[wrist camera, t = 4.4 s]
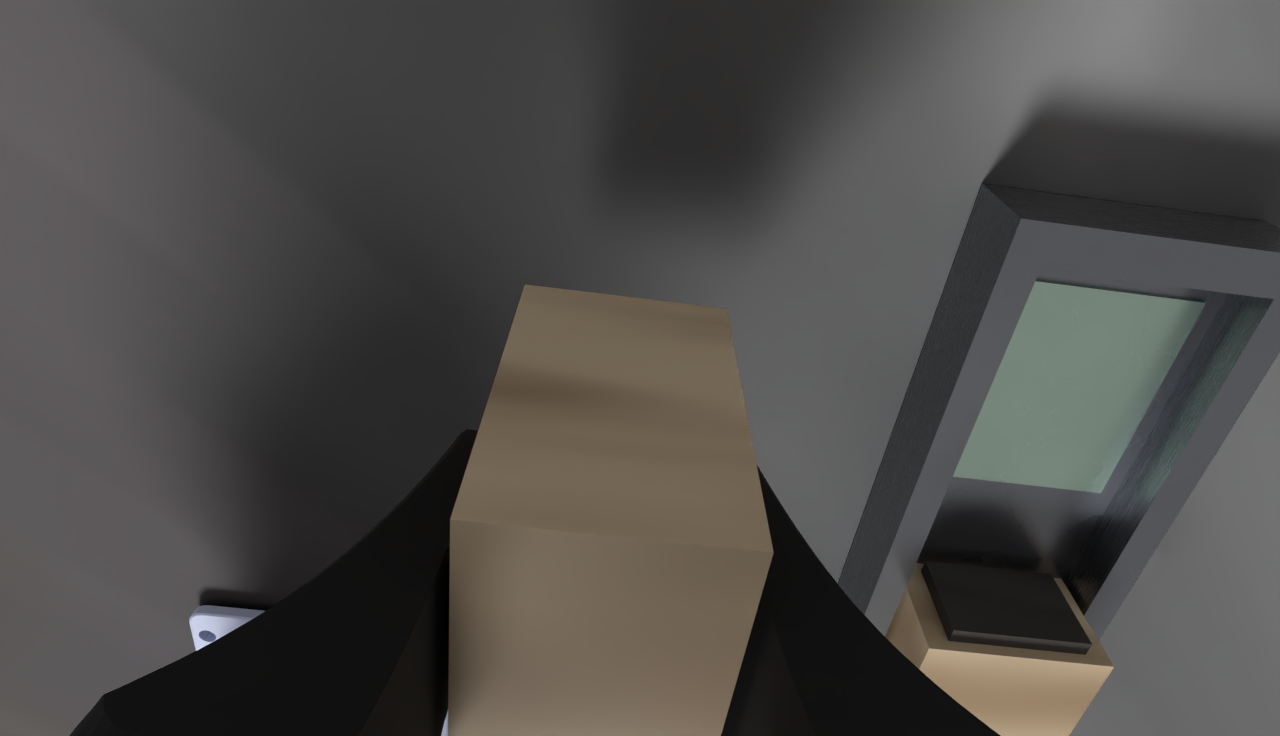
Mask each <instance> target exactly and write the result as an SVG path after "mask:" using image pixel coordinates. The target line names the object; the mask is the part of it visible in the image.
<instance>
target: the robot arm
mask: <svg viewBox="0 0 1280 736" xmlns="http://www.w3.org/2000/svg"><path fill="white" fill-rule="evenodd" d="M477 433H478V431H476V430H465V431H464V432H462V433H461V434H460V435H459V436H458V437H457V439H456V440H455V441H454V443H453V444H452V445H451V446H450V448H449V449H448V450H447V451H446V453H445V454H444V455H443V456H442V457H441V459H440V460H439V461H438V462H437V463H436V464H435V466H434V467H433V468H432V469H431V470H430V471H429V472H428V474H427V475H426V476H425V477H424V478H423V479H422V480H421V481H420V482H419V483H418V484H417V485H416V487H415V488H414V489H413V490H412V491H411V492H410V493H409V494H408V495H407V496H406V497H405V498H404V499H403V500H402V501H401V502H400V503H399V504H398V505H397V506H396V507H395V508H394V509H393V510H392V511H391V512H390V513H389V514H388V515H387V516H386V517H385V518H384V519H383V520H382V521H381V522H379V523H378V524H377V525H376V526H375V527H374V528H373V529H372V530H371V531H370V532H369V533H368V534H367V535H365V536H364V537H363V538H362V539H361V540H360V541H359V542H358V543H356V544H355V545H354V546H353V547H352V548H351V549H349V550H348V551H347V552H346V553H345V554H343V555H342V556H341V557H340V558H338V559H337V560H336V561H335V562H333V563H332V564H331V565H330V566H328V567H327V568H326V569H324V570H323V571H322V572H321V573H319V574H318V575H317V576H315V577H314V578H313V579H311V580H310V581H308V582H307V583H306V584H304V585H303V586H301V587H300V588H298V589H297V590H296V591H294V592H293V593H291V594H290V595H288V596H287V597H286V598H284V599H283V600H281V601H280V602H278V603H277V604H275V605H274V606H272V607H271V608H269V609H268V610H266V611H263V610H253V609H242V608H232V607H222V606H212V605H203V606H200V607H197V608H196V609H195V611H194V612H193V614H192V615H191V617H190V619H189V623H190V628H191V632H192V636H193V640H194V645H195V649H196V651H195V652H193V653H191V654H189V655H187V656H185V657H183V658H181V659H179V660H177V661H175V662H173V663H171V664H169V665H167V666H165V667H163V668H160V669H158V670H156V671H154V672H152V673H150V674H148V675H146V676H143V677H141V678H139V679H137V680H135V681H133V682H131V683H129V684H127V685H124V686H122V687H120V688H118V689H115V690H113V691H111V692H109V693H106V694H104V695H103V696H102V697H101V698H100V700H99V701H98V702H97V704H96V705H95V706H94V707H93V709H92V710H91V711H90V712H89V713H88V714H87V715H86V716H85V718H84V719H83V720H82V721H81V722H80V723H79V724H78V726H77V727H76V728H75V729H74V731H73V732H72V733H71V735H70V736H448V682H449V578H450V518H451V515H452V512H453V509H454V506H455V502H456V499H457V496H458V493H459V490H460V487H461V484H462V480H463V477H464V474H465V471H466V468H467V465H468V462H469V458H470V455H471V452H472V449H473V446H474V443H475V440H476V436H477ZM757 469H758V475H759V480H760V485H761V490H762V495H763V500H764V506H765V511H766V516H767V521H768V526H769V531H770V536H771V542H772V547H773V552H774V553H773V556H772V560H771V563H770V567H769V570H768V574H767V577H766V581H765V584H764V588H763V591H762V595H761V598H760V602H759V605H758V609H757V612H756V616H755V619H754V623H753V626H752V629H751V633H750V636H749V640H748V643H747V647H746V650H745V654H744V657H743V661H742V664H741V668H740V671H739V675H738V678H737V682H736V685H735V689H734V692H733V696H732V699H731V702H730V706H729V709H728V713H727V716H726V720H725V723H724V727H723V730H722V734H721V736H1000V735H999V734H998V733H996V732H995V731H994V730H992V729H991V728H990V727H988V726H987V725H986V724H985V723H983V722H982V721H981V720H980V719H978V718H977V717H976V716H974V715H973V714H972V713H971V712H969V711H968V710H967V709H965V708H964V707H963V706H962V705H960V704H959V703H958V702H957V701H955V700H954V699H953V698H952V697H951V696H949V695H948V694H947V693H946V692H945V691H943V690H942V689H941V688H940V687H939V686H937V685H936V684H935V683H934V682H933V681H932V680H931V679H929V678H928V677H927V676H926V675H925V674H924V673H923V672H922V671H921V670H920V669H918V668H917V667H916V666H915V665H914V664H913V663H912V662H911V661H910V660H909V659H907V658H906V657H905V656H904V655H903V654H902V653H901V652H900V651H899V650H898V649H897V648H896V647H895V646H894V645H893V644H892V643H891V642H890V641H889V640H888V639H887V638H886V637H885V636H884V635H883V634H882V633H881V632H880V631H879V630H878V629H877V628H876V627H875V626H874V625H873V624H872V623H871V622H870V620H869V619H868V618H867V617H866V616H865V615H864V614H863V613H862V612H861V611H860V610H859V609H858V608H857V607H856V605H855V604H854V603H853V602H852V601H851V600H850V598H849V597H848V596H847V595H846V594H845V592H844V591H843V590H842V589H841V587H840V586H839V585H838V584H837V582H836V581H835V580H834V579H833V577H832V576H831V575H830V574H829V572H828V571H827V570H826V568H825V567H824V566H823V564H822V563H821V562H820V560H819V559H818V558H817V556H816V555H815V554H814V552H813V551H812V549H811V548H810V547H809V545H808V544H807V542H806V541H805V539H804V538H803V537H802V535H801V534H800V532H799V531H798V529H797V528H796V526H795V525H794V523H793V522H792V520H791V519H790V517H789V516H788V514H787V513H786V511H785V510H784V508H783V507H782V505H781V503H780V502H779V500H778V499H777V497H776V495H775V494H774V492H773V491H772V489H771V487H770V486H769V484H768V482H767V481H766V479H765V477H764V476H763V474H762V472H761V471H760V469H759V468H758V466H757Z"/></svg>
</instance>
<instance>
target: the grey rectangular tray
mask: <svg viewBox="0 0 1280 736" xmlns="http://www.w3.org/2000/svg"><path fill="white" fill-rule="evenodd" d="M1279 352H1280V229H1278V228H1277V227H1275V226H1273V225H1271V224H1269V223H1267V222H1264V221H1256V220H1249V219H1241V218H1234V217H1226V216H1219V215H1211V214H1204V213H1196V212H1189V211H1182V210H1174V209H1167V208H1159V207H1152V206H1144V205H1137V204H1129V203H1122V202H1114V201H1107V200H1099V199H1092V198H1085V197H1077V196H1070V195H1062V194H1055V193H1047V192H1040V191H1032V190H1025V189H1017V188H1010V187H1002V186H995V185H987V184H982V185H981V188H980V191H979V194H978V196H977V199H976V202H975V205H974V207H973V210H972V213H971V216H970V219H969V221H968V224H967V227H966V230H965V232H964V235H963V238H962V241H961V244H960V246H959V249H958V252H957V255H956V257H955V260H954V263H953V266H952V269H951V271H950V274H949V277H948V280H947V282H946V285H945V288H944V291H943V294H942V296H941V299H940V302H939V305H938V307H937V310H936V313H935V316H934V318H933V321H932V324H931V327H930V330H929V332H928V335H927V338H926V341H925V343H924V346H923V349H922V352H921V355H920V357H919V360H918V363H917V366H916V368H915V371H914V374H913V377H912V380H911V382H910V385H909V388H908V391H907V393H906V396H905V399H904V402H903V405H902V407H901V410H900V413H899V416H898V418H897V421H896V424H895V427H894V430H893V432H892V435H891V438H890V441H889V443H888V446H887V449H886V452H885V455H884V457H883V460H882V463H881V466H880V468H879V471H878V474H877V477H876V480H875V482H874V485H873V488H872V491H871V493H870V496H869V499H868V502H867V505H866V507H865V510H864V513H863V516H862V518H861V521H860V524H859V527H858V530H857V532H856V535H855V538H854V541H853V543H852V546H851V549H850V552H849V555H848V557H847V560H846V563H845V566H844V568H843V571H842V574H841V577H840V580H839V582H838V585H839V586H840V587H841V589H842V590H843V591H844V592H845V594H846V595H847V596H848V597H849V598H850V600H851V601H852V602H853V603H854V604H855V605H856V607H857V608H858V609H859V610H860V611H861V612H862V613H863V614H864V615H865V616H866V617H867V618H868V619H869V620H870V622H871V623H872V624H873V625H874V626H875V627H876V628H877V629H878V630H879V631H880V632H881V633H882V634H883V635H884V636H886V633H887V631H888V628H889V626H890V624H891V621H892V619H893V617H894V614H895V612H896V610H897V607H898V605H899V602H900V600H901V598H902V595H903V593H904V591H905V588H906V586H907V584H908V581H909V579H910V576H911V574H912V572H913V569H914V567H915V565H916V563H919V564H924V563H925V561H932V562H942V563H951V564H960V565H970V566H979V567H989V568H998V569H1007V570H1017V571H1026V572H1036V573H1045V574H1051V575H1052V576H1053V578H1060V579H1062V580H1063V582H1064V584H1065V585H1066V587H1067V589H1068V590H1069V592H1070V594H1071V595H1072V597H1073V599H1074V600H1075V602H1076V604H1077V605H1078V607H1079V609H1080V611H1081V612H1082V614H1083V616H1084V617H1085V619H1086V621H1087V622H1088V624H1089V626H1090V627H1091V629H1092V631H1093V632H1094V634H1095V636H1096V637H1097V639H1098V641H1099V639H1100V637H1101V636H1102V634H1103V633H1104V631H1105V629H1106V628H1107V626H1108V625H1109V623H1110V621H1111V620H1112V618H1113V617H1114V615H1115V614H1116V612H1117V610H1118V609H1119V607H1120V606H1121V604H1122V602H1123V601H1124V599H1125V598H1126V596H1127V594H1128V593H1129V591H1130V590H1131V588H1132V586H1133V585H1134V583H1135V582H1136V580H1137V578H1138V577H1139V575H1140V574H1141V572H1142V571H1143V569H1144V567H1145V566H1146V564H1147V563H1148V561H1149V559H1150V558H1151V556H1152V555H1153V553H1154V551H1155V550H1156V548H1157V547H1158V545H1159V543H1160V542H1161V540H1162V539H1163V537H1164V535H1165V534H1166V532H1167V531H1168V529H1169V528H1170V526H1171V524H1172V523H1173V521H1174V520H1175V518H1176V516H1177V515H1178V513H1179V512H1180V510H1181V508H1182V507H1183V505H1184V504H1185V502H1186V500H1187V499H1188V497H1189V496H1190V494H1191V493H1192V491H1193V489H1194V488H1195V486H1196V485H1197V483H1198V481H1199V480H1200V478H1201V477H1202V475H1203V473H1204V472H1205V470H1206V469H1207V467H1208V465H1209V464H1210V462H1211V461H1212V459H1213V457H1214V456H1215V454H1216V453H1217V451H1218V450H1219V448H1220V446H1221V445H1222V443H1223V442H1224V440H1225V438H1226V437H1227V435H1228V434H1229V432H1230V430H1231V429H1232V427H1233V426H1234V424H1235V422H1236V421H1237V419H1238V418H1239V416H1240V414H1241V413H1242V411H1243V410H1244V408H1245V407H1246V405H1247V403H1248V402H1249V400H1250V399H1251V397H1252V395H1253V394H1254V392H1255V391H1256V389H1257V387H1258V386H1259V384H1260V383H1261V381H1262V379H1263V378H1264V376H1265V375H1266V373H1267V371H1268V370H1269V368H1270V367H1271V365H1272V364H1273V362H1274V360H1275V359H1276V357H1277V356H1278V354H1279Z"/></svg>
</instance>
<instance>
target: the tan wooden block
mask: <svg viewBox="0 0 1280 736" xmlns="http://www.w3.org/2000/svg"><path fill="white" fill-rule="evenodd" d="M773 553H774V552H773V547H772V542H771V536H770V531H769V526H768V521H767V516H766V511H765V506H764V500H763V495H762V490H761V485H760V480H759V475H758V469H757V464H756V459H755V454H754V449H753V444H752V439H751V433H750V428H749V423H748V418H747V413H746V408H745V403H744V397H743V392H742V387H741V382H740V377H739V372H738V366H737V361H736V356H735V351H734V346H733V341H732V336H731V330H730V325H729V320H728V315H727V310H726V308H718V307H709V306H701V305H693V304H684V303H676V302H668V301H659V300H651V299H642V298H634V297H626V296H617V295H609V294H601V293H592V292H584V291H576V290H567V289H559V288H551V287H542V286H534V285H526V284H525V285H524V289H523V292H522V295H521V298H520V301H519V304H518V307H517V311H516V314H515V317H514V320H513V323H512V326H511V329H510V333H509V336H508V339H507V342H506V345H505V348H504V351H503V355H502V358H501V361H500V364H499V367H498V370H497V373H496V377H495V380H494V383H493V386H492V389H491V392H490V395H489V399H488V402H487V405H486V408H485V411H484V414H483V417H482V421H481V424H480V427H479V430H478V433H477V436H476V440H475V443H474V446H473V449H472V452H471V455H470V458H469V462H468V465H467V468H466V471H465V474H464V477H463V480H462V484H461V487H460V490H459V493H458V496H457V499H456V502H455V506H454V509H453V512H452V515H451V518H450V578H449V682H448V736H721V734H722V730H723V727H724V723H725V720H726V716H727V713H728V709H729V706H730V702H731V699H732V696H733V692H734V689H735V685H736V682H737V678H738V675H739V671H740V668H741V664H742V661H743V657H744V654H745V650H746V647H747V643H748V640H749V636H750V633H751V629H752V626H753V623H754V619H755V616H756V612H757V609H758V605H759V602H760V598H761V595H762V591H763V588H764V584H765V581H766V577H767V574H768V570H769V567H770V563H771V560H772V556H773Z"/></svg>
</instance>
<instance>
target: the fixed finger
mask: <svg viewBox="0 0 1280 736" xmlns="http://www.w3.org/2000/svg"><path fill="white" fill-rule="evenodd" d="M885 637H886V638H887V639H888V640H889V641H890V642H891V643H892V644H893V645H894V646H895V647H896V648H897V649H898V650H899V651H900V652H901V653H902V654H903V655H904V656H905V657H906V658H907V659H909V660H910V661H911V662H912V663H913V664H914V665H915V666H916V667H917V668H918V669H920V670H921V671H922V672H923V673H924V674H925V675H926V676H927V677H928V678H929V679H931V680H932V681H933V682H934V683H935V684H936V685H937V686H939V687H940V688H941V689H942V690H943V691H945V692H946V693H947V694H948V695H949V696H951V697H952V698H953V699H954V700H955V701H957V702H958V703H959V704H960V705H962V706H963V707H964V708H965V709H967V710H968V711H969V712H971V713H972V714H973V715H974V716H976V717H977V718H978V719H980V720H981V721H982V722H983V723H985V724H986V725H987V726H988V727H990V728H991V729H992V730H994V731H995V732H996V733H998V734H999V735H1000V736H1069V735H1070V733H1071V732H1072V730H1073V729H1074V727H1075V725H1076V724H1077V722H1078V721H1079V719H1080V718H1081V716H1082V715H1083V713H1084V712H1085V710H1086V709H1087V707H1088V706H1089V704H1090V703H1091V701H1092V700H1093V698H1094V697H1095V695H1096V694H1097V692H1098V691H1099V689H1100V688H1101V686H1102V685H1103V683H1104V682H1105V680H1106V678H1107V677H1108V675H1109V674H1110V672H1111V671H1112V669H1113V668H1114V666H1113V664H1112V663H1111V661H1110V659H1109V658H1108V656H1107V654H1106V652H1105V651H1104V649H1103V647H1102V646H1101V644H1100V642H1099V641H1098V639H1097V637H1096V636H1095V634H1094V632H1093V631H1092V629H1091V627H1090V626H1089V624H1088V622H1087V621H1086V619H1085V617H1084V616H1083V614H1082V612H1081V611H1080V609H1079V607H1078V605H1077V604H1076V602H1075V600H1074V599H1073V597H1072V595H1071V594H1070V592H1069V590H1068V589H1067V587H1066V585H1065V584H1064V582H1063V580H1062V579H1060V578H1053V576H1052V575H1051V574H1045V573H1036V572H1026V571H1017V570H1007V569H998V568H989V567H979V566H970V565H960V564H951V563H942V562H932V561H925V563H924V564H919V563H916V565H915V567H914V569H913V572H912V574H911V576H910V579H909V581H908V584H907V586H906V588H905V591H904V593H903V595H902V598H901V600H900V602H899V605H898V607H897V610H896V612H895V614H894V617H893V619H892V621H891V624H890V626H889V628H888V631H887V633H886V636H885Z"/></svg>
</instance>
